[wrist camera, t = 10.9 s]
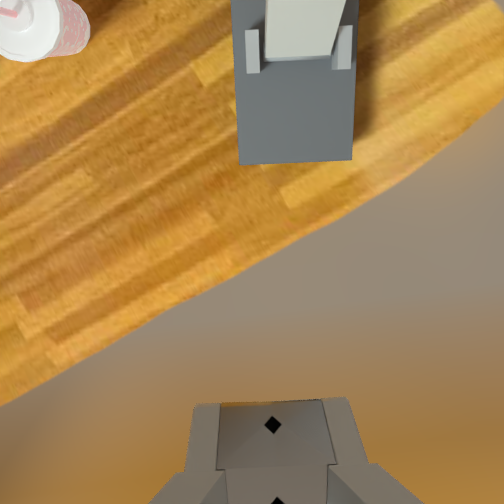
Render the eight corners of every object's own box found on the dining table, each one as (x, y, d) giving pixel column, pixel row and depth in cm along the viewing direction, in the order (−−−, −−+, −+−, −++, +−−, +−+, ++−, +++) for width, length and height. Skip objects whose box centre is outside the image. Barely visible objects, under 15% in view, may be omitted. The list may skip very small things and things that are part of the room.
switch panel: (239, 155, 44) (239, 171, 37) (228, -62, 37) (225, -93, 30) (340, 150, 44) (358, 165, 37) (348, -67, 37) (372, -100, 30)
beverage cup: (54, 75, 40) (-35, 77, 28) (14, 7, 38) (-103, -27, 25) (112, 45, 40) (48, 33, 27) (74, -27, 37) (-15, -79, 25)
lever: (261, 70, 35) (264, -48, 24) (260, 44, 35) (263, -84, 24) (331, 67, 35) (368, -52, 24) (329, 41, 35) (365, -88, 24)
